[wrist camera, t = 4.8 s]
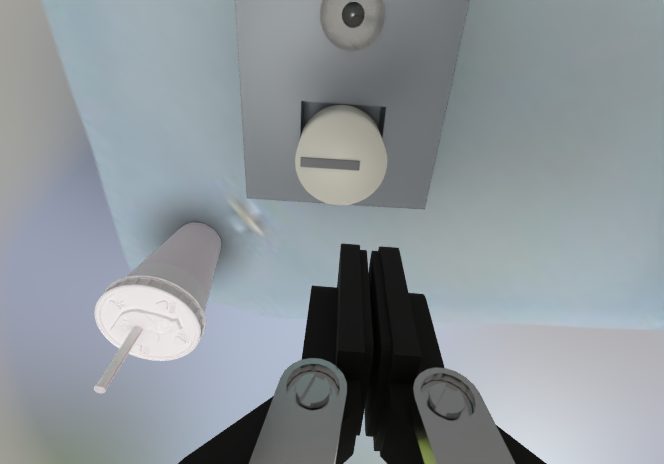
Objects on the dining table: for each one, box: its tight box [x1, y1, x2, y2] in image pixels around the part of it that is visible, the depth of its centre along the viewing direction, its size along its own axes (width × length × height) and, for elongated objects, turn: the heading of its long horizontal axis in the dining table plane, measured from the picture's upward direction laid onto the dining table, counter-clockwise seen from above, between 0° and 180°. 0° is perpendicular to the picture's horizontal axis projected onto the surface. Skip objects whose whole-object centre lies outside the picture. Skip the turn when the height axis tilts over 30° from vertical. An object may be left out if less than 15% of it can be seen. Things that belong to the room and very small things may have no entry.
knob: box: [295, 105, 387, 205], centre depth 22 cm, size 5×5×6 cm
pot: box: [320, 0, 385, 51], centre depth 18 cm, size 3×3×4 cm
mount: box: [235, 0, 469, 209], centre depth 21 cm, size 12×22×4 cm, turn 176°
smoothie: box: [94, 222, 221, 393], centre depth 25 cm, size 6×6×14 cm
